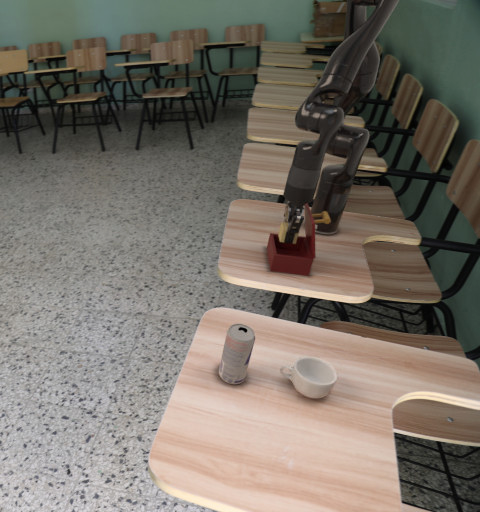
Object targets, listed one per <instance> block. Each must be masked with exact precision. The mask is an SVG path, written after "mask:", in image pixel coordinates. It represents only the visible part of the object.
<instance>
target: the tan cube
mask: <svg viewBox="0 0 480 512" xmlns="http://www.w3.org/2000/svg"><path fill="white" fill-rule="evenodd" d="M280 222H281V223H280V225H279V230H278V233H277V234H278V236H279V240H280V242H284V239H285V235H286V231H287V226H288V223H287V222H284V221H280ZM293 228H295V227H293ZM299 233H300V232H299ZM299 233H295V236H294V240H293V243H294V244H296V241H297V238H298V236H299Z"/></svg>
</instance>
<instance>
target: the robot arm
mask: <svg viewBox="0 0 480 512" xmlns="http://www.w3.org/2000/svg"><path fill="white" fill-rule="evenodd" d="M399 2H400V0H346V10H345V12H346V13H345V23H344V32H343V34H344V35H343V39H342V42H341V43H340V44H339V45H338V46H337V47H336V49H334V51H333V52H332V53H331V55H330V57H329V58H328V60H327V63H326V65H325V66H324V70H323V72H322V73H321V76H320V78H319V81H318V82H317V84H316V85H315V87H313V89H312V91H310V93H309V94H308V96H307V97H306V98H305V100H304V101H303V102H302V103H301V105H300V106H299V107H298V109H297V110H296V113H295V117H294V123H295V127H296V128H297V129H298V130H300V131H303V132H308V133H312V134H316V135H319V136H318V139H306V140H301V141H299V142H298V143H297V144H296V146H295V150H294V154H293V157H292V162H291V165H290V167H289V171H288V174H287V178H286V181H285V186H284V190H283V194H282V196H283V197H284V199H285V200H286V202H285V209H284V214H283V217H284V218H283V222H287V223H288V226H287V231H286V235H285V239H284V242H285V243H289V244H292V243H293V240H294V236H295V233H300V230H301V227H302V225H303V223H304V221H305V215H304V214H305V204H306V203H308V204H311V203H312V204H311V207H310V211H311V214H320V213H322V212H324V211H326V212H327V213H328V215H329V218H330V220H331V222H330V223H329V224H325V223H315V234H319V235H324V236H330V235H334V234H336V233H338V230H339V226H340V223H341V221H342V217H343V214H344V212H345V208H346V205H347V203H348V199H349V196H350V194H351V193H350V192H351V189H352V187H353V184H354V181H355V178H356V175H357V172H358V170H359V167H360V164H361V161H362V159H363V157H364V154H365V152H366V149H367V147H368V143H369V141H370V131H369V130H368V129H367V128H363V127H359V126H353V125H348V124H345V120H346V119H345V118H346V116H347V115H348V114H349V112H350V111H351V110H352V109H353V108H354V107H355V106H356V105H357V104H359V103H360V102H361V101H362V100H363V99H364V98H365V97H366V96H367V95H368V94H369V93H370V92H371V90H372V89H373V88H374V86H375V83H376V81H377V76H378V71H379V67H380V62H381V58H380V52H379V50H378V47H377V44H376V42H375V41H376V39H377V38H378V36H379V35H380V33H381V32H382V30H383V28H384V27H385V25H386V24H387V21H388V20H389V19H390V17H391V15H392V14H393V12H394V10H395V9H396V8H397V5H398V4H399ZM367 7H373V8H374V7H375V8H374V9H373V11H372V12H371V14H370V16H369V17H368V18H367ZM332 98H333V102H332V104H330V103H324V102H325V101H326V100H328V99H332ZM326 155H329V156H332V157H337V158H340V159H345V160H346V161H345V162H344V163H338V164H337V163H336V164H329V165H326V166H324V167H323V163H324V161H325V156H326ZM322 167H323V168H322ZM313 219H314V220H320V219H323V218H322V217H313ZM293 227H295V228H293Z"/></svg>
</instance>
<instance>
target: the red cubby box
mask: <svg viewBox="0 0 480 512" xmlns="http://www.w3.org/2000/svg"><path fill="white" fill-rule="evenodd" d="M278 234H279V233H273V232H270V233H269V236H268V239H267V240H268V241H267V244H266V254H267V259H268V265H269V270H270V272H275V273H284V274H293V275H298V276H299V275H301V276H309V275H310V272H311V269H312V265H313V263H314V258H312V255H311V252H310V249H309V246H308V243H307V239H306V236H301V235H298V238H297V241H296V244H294V243H292V244H289V243H285V242H280V240H279V236H278Z"/></svg>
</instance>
